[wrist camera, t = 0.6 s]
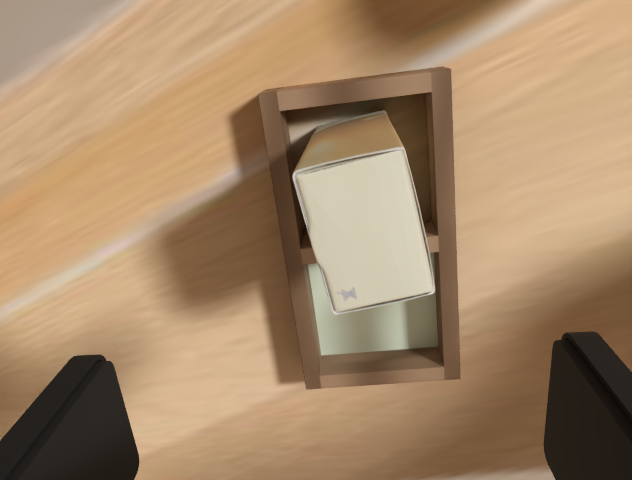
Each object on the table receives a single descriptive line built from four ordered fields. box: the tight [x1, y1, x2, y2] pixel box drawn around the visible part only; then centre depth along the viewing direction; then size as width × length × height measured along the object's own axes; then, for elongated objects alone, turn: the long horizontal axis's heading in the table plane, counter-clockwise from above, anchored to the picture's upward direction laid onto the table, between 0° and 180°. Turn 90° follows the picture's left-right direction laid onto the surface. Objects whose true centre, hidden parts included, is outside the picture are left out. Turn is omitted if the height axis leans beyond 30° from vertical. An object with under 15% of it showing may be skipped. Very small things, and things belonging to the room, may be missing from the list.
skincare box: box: [292, 110, 435, 315], centre depth 25 cm, size 6×4×12 cm
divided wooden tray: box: [258, 67, 460, 389], centre depth 31 cm, size 10×19×2 cm, turn 7°
